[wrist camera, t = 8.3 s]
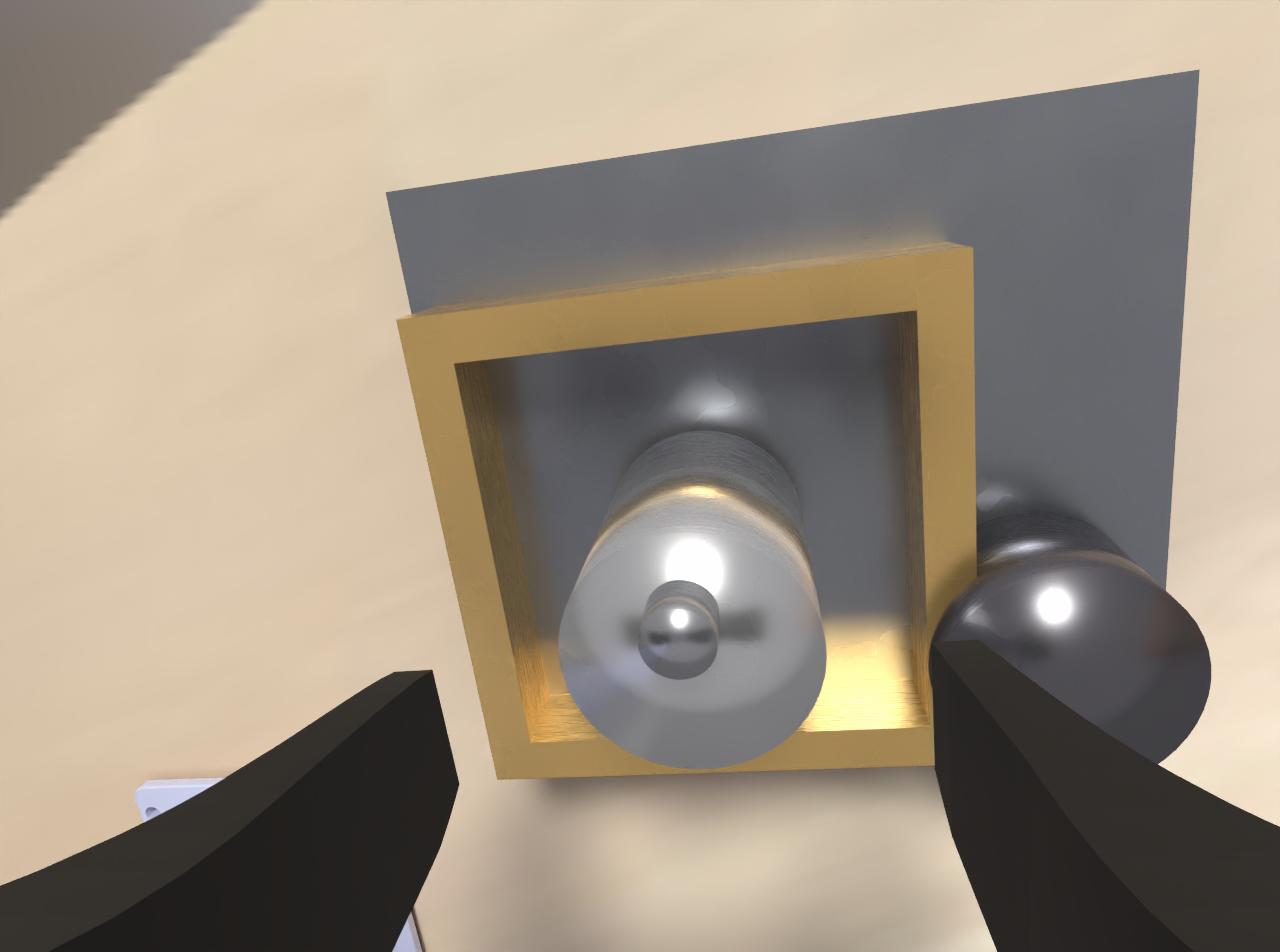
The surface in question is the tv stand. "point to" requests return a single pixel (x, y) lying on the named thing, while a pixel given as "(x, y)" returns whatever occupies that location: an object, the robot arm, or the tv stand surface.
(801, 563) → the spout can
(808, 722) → the grey piece
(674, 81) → the tv stand surface
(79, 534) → the tv stand surface
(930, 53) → the tv stand surface
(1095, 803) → the robot arm
